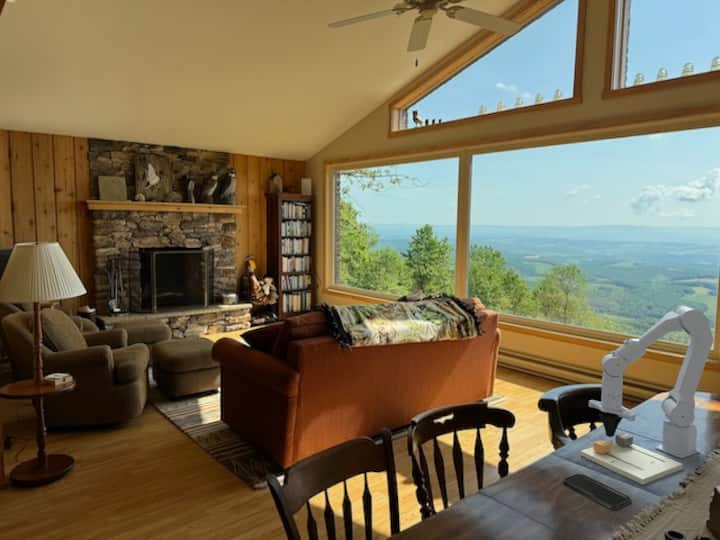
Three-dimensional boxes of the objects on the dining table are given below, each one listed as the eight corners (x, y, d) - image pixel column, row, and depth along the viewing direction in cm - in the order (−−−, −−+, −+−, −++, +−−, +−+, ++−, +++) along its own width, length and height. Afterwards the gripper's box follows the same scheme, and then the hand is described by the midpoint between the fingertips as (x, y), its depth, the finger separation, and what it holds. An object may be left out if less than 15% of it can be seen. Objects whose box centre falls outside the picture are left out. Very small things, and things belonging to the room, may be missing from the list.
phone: (580, 472, 136) (633, 498, 123) (580, 476, 136) (632, 503, 123) (560, 479, 132) (612, 507, 119) (560, 484, 132) (612, 511, 119)
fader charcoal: (623, 440, 153) (623, 432, 153) (632, 444, 151) (633, 436, 151) (615, 443, 152) (615, 435, 151) (624, 446, 149) (624, 438, 149)
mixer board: (619, 443, 156) (619, 438, 156) (682, 469, 139) (682, 463, 139) (580, 455, 147) (580, 450, 147) (642, 484, 131) (642, 479, 131)
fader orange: (602, 447, 149) (602, 439, 149) (611, 451, 146) (611, 442, 146) (593, 450, 147) (593, 441, 147) (602, 454, 144) (602, 445, 144)
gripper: (583, 388, 159) (581, 430, 160) (625, 402, 146) (623, 447, 147) (597, 385, 162) (596, 426, 163) (640, 398, 149) (638, 442, 150)
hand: (610, 435), depth 155 cm, fingers closed
